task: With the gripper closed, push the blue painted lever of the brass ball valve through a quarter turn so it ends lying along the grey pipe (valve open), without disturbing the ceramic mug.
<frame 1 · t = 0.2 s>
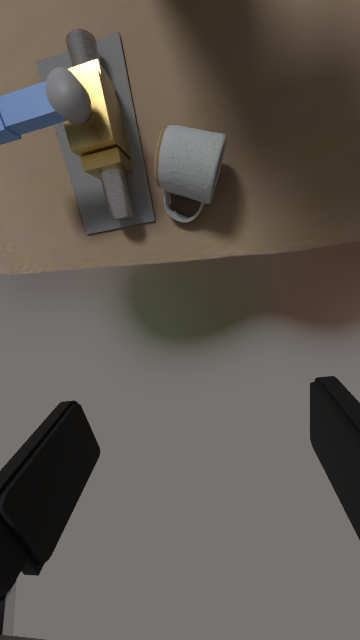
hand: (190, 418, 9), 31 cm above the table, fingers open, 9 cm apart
mat: (101, 148, 32), on the table
valve: (108, 138, 32), resting on mat
lever: (28, 110, 23), point 10 cm above the table, hinge at 0.0°
ceramic mug: (191, 184, 33), on the table
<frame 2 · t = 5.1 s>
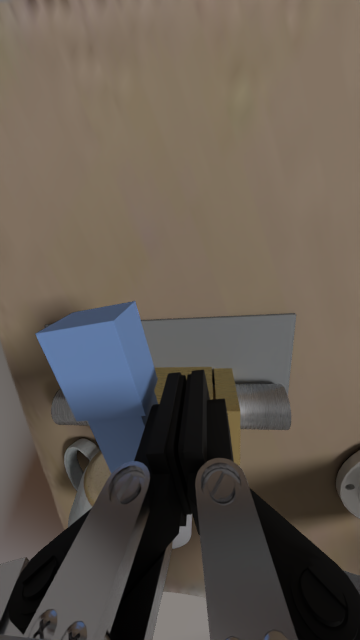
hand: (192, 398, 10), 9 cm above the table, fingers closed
mat: (168, 377, 21), on the table
valve: (179, 389, 21), resting on mat
lever: (136, 442, 11), point 10 cm above the table, hinge at 7.0°, touching gripper
ceramic mug: (114, 458, 27), on the table
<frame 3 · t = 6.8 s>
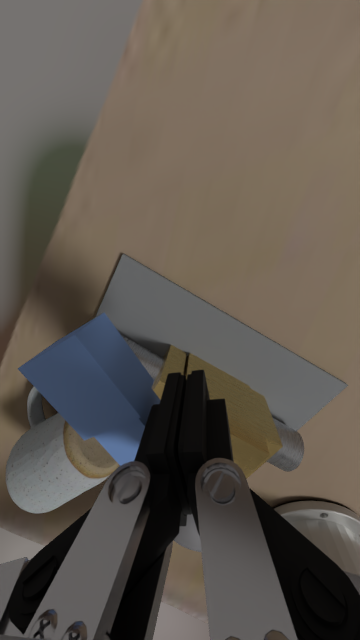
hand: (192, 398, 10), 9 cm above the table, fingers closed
mat: (203, 372, 20), on the table
valve: (203, 388, 21), resting on mat
lever: (153, 447, 11), point 10 cm above the table, hinge at 60.7°, touching gripper
ceramic mug: (82, 410, 24), on the table
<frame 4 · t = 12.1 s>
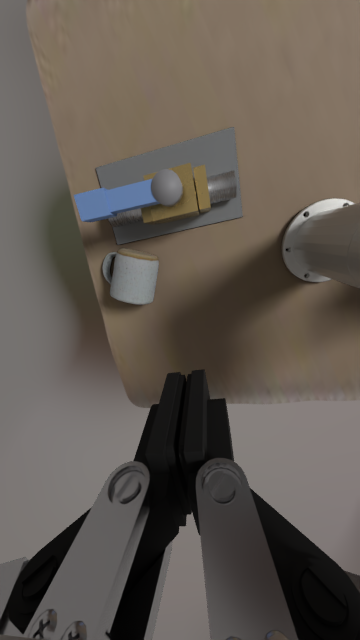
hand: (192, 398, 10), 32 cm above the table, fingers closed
mat: (169, 192, 35), on the table
valve: (177, 201, 36), resting on mat
lever: (130, 197, 27), point 10 cm above the table, hinge at 89.0°
ceramic mug: (134, 272, 41), on the table
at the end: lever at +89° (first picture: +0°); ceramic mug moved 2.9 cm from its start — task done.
